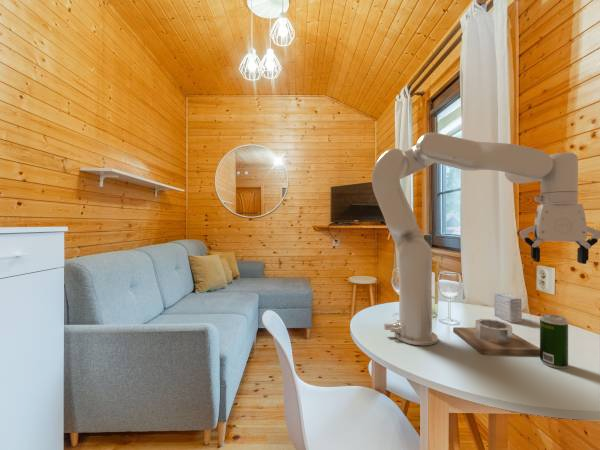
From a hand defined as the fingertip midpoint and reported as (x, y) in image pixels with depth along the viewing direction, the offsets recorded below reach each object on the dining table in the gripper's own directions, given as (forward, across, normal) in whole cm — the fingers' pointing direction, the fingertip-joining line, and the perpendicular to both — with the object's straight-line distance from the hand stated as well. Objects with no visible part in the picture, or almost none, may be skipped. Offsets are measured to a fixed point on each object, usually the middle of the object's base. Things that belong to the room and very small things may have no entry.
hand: (558, 262), depth 78 cm
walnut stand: (+25, -15, +2) cm, 29 cm away
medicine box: (+25, -6, +28) cm, 38 cm away
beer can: (+25, -3, -8) cm, 27 cm away
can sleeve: (+24, -15, +2) cm, 28 cm away
